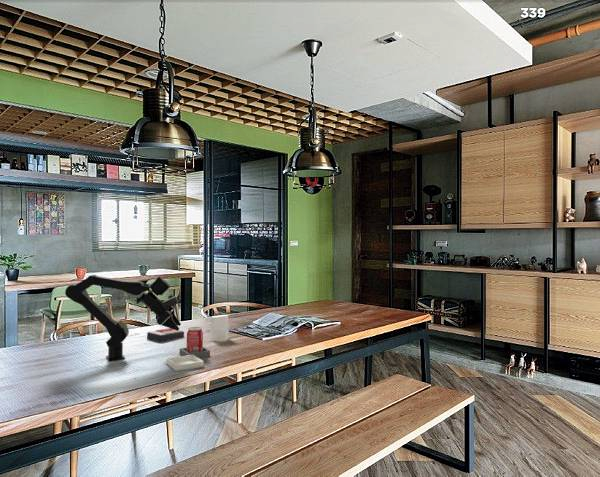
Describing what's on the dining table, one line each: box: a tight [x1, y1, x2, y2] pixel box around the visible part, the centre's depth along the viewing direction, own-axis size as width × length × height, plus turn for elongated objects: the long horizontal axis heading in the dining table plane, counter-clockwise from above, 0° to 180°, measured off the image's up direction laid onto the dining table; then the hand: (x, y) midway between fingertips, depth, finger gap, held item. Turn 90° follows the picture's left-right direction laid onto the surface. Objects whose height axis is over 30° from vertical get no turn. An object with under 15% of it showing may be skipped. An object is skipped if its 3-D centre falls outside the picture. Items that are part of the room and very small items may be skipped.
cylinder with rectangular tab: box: [210, 314, 229, 342], centre depth 224 cm, size 9×9×12 cm
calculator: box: [146, 328, 185, 343], centre depth 225 cm, size 11×4×15 cm
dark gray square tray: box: [179, 346, 211, 359], centre depth 195 cm, size 10×10×2 cm
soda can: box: [186, 326, 204, 353], centre depth 195 cm, size 7×7×12 cm
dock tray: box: [165, 355, 205, 372], centre depth 180 cm, size 12×12×2 cm
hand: (179, 327), depth 194 cm, fingers open, 9 cm apart
